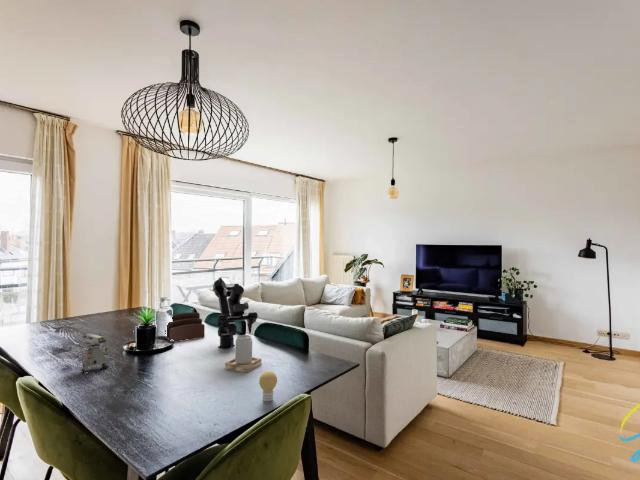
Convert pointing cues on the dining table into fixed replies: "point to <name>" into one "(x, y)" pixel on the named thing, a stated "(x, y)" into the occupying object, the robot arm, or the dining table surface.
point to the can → (243, 350)
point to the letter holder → (185, 327)
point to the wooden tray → (243, 368)
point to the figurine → (94, 352)
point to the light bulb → (268, 385)
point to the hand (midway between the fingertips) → (240, 334)
